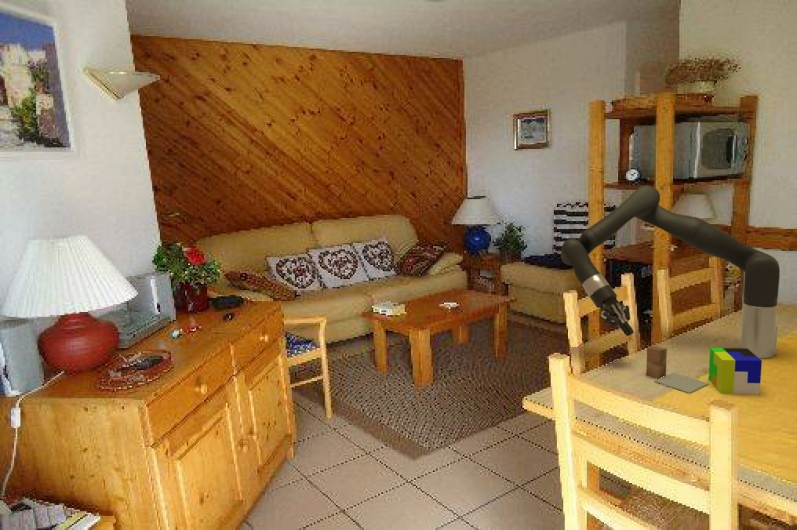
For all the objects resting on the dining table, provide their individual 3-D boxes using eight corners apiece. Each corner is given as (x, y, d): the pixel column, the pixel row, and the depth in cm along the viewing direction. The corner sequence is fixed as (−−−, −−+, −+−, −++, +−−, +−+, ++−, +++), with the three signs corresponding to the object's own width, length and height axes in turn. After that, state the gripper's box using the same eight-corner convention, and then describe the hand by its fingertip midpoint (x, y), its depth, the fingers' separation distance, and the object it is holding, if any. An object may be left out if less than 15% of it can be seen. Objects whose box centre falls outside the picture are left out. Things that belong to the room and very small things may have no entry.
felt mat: (673, 373, 173) (673, 372, 173) (708, 384, 164) (708, 383, 164) (653, 382, 168) (653, 380, 168) (689, 393, 159) (689, 392, 159)
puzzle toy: (759, 394, 156) (761, 360, 154) (720, 393, 158) (722, 360, 156) (745, 380, 166) (747, 348, 164) (708, 379, 168) (710, 347, 166)
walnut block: (653, 371, 175) (654, 344, 174) (665, 375, 172) (666, 348, 170) (645, 375, 173) (646, 347, 172) (658, 379, 170) (659, 351, 168)
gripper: (605, 293, 192) (635, 336, 184) (579, 300, 185) (610, 345, 177) (618, 280, 186) (651, 324, 178) (592, 287, 179) (625, 333, 172)
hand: (630, 334), depth 178 cm, fingers closed
